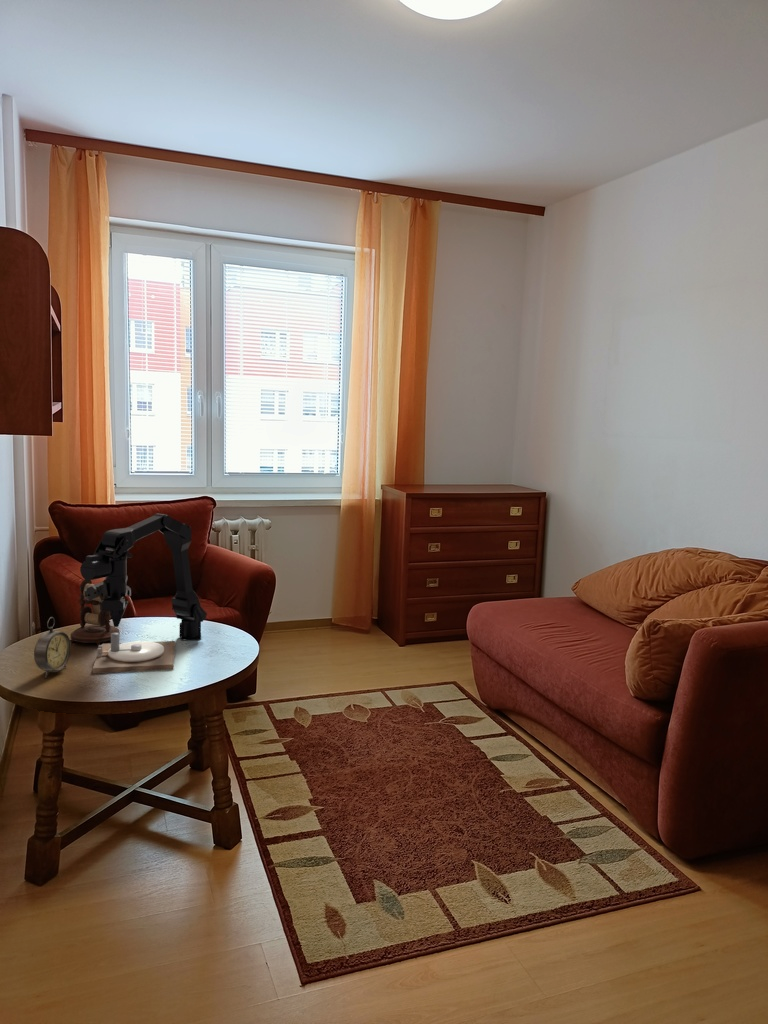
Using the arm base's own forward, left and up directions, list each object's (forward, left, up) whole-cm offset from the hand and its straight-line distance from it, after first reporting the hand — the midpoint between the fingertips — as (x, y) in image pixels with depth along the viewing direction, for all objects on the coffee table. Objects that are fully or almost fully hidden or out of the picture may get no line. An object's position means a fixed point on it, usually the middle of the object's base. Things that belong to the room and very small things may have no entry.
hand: (116, 626), depth 210 cm
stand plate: (-5, -5, -12) cm, 14 cm away
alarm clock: (+17, +4, -12) cm, 21 cm away
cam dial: (-4, -5, -10) cm, 12 cm away
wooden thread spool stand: (+9, -25, -12) cm, 29 cm away
